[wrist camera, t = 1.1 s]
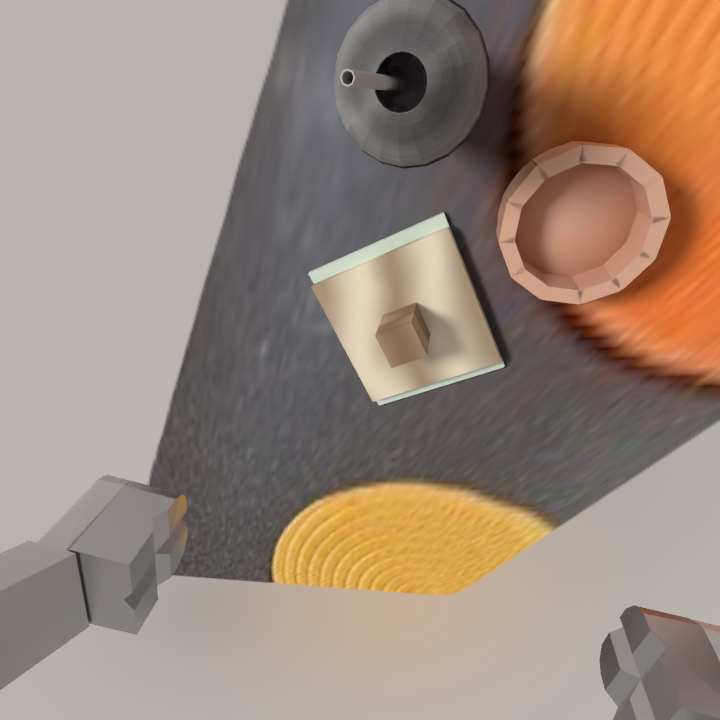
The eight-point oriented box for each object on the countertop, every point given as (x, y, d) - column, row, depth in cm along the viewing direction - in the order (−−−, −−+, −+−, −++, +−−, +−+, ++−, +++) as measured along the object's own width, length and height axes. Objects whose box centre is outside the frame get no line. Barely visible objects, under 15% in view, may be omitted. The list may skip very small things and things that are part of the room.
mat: (443, 211, 36) (443, 213, 35) (504, 364, 41) (504, 367, 40) (309, 271, 40) (308, 273, 40) (379, 403, 45) (378, 405, 45)
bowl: (628, 112, 31) (649, 114, 27) (660, 253, 34) (682, 270, 31) (478, 181, 34) (479, 190, 31) (521, 301, 38) (527, 322, 34)
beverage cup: (472, 151, 33) (484, 206, 16) (370, 145, 34) (279, 192, 17) (489, 25, 30) (528, -76, 13) (375, 23, 31) (266, -73, 14)
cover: (448, 225, 36) (447, 242, 32) (501, 357, 40) (505, 387, 36) (313, 283, 40) (296, 305, 36) (374, 397, 44) (365, 427, 40)
